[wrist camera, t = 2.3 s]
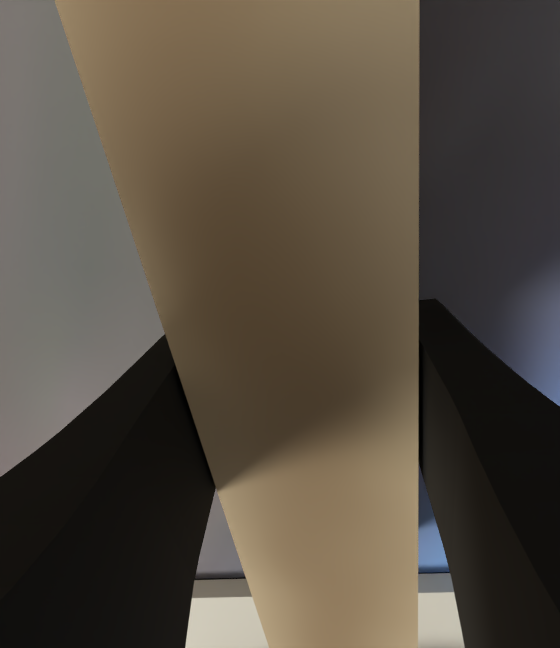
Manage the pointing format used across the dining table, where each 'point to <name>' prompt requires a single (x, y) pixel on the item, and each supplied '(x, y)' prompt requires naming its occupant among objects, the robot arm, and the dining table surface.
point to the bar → (282, 278)
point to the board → (247, 633)
